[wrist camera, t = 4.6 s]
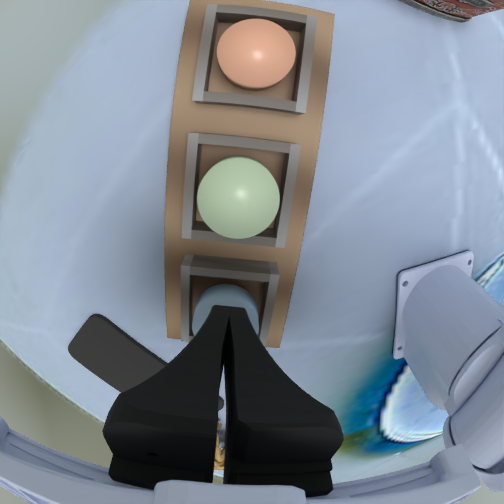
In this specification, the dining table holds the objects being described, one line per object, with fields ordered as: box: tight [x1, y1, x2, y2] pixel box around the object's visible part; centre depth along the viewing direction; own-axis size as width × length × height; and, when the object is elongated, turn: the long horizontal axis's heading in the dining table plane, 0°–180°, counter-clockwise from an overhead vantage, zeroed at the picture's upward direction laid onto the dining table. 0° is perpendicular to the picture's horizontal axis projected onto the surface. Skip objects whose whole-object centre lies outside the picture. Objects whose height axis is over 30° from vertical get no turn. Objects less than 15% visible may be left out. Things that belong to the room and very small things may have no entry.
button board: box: [165, 0, 335, 348], centre depth 16 cm, size 22×8×4 cm, turn 173°
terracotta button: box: [217, 19, 296, 91], centre depth 12 cm, size 4×4×2 cm
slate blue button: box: [192, 284, 259, 336], centre depth 16 cm, size 4×4×2 cm
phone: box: [68, 314, 224, 411], centre depth 24 cm, size 7×1×15 cm
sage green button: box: [197, 155, 280, 239], centre depth 14 cm, size 4×4×2 cm
